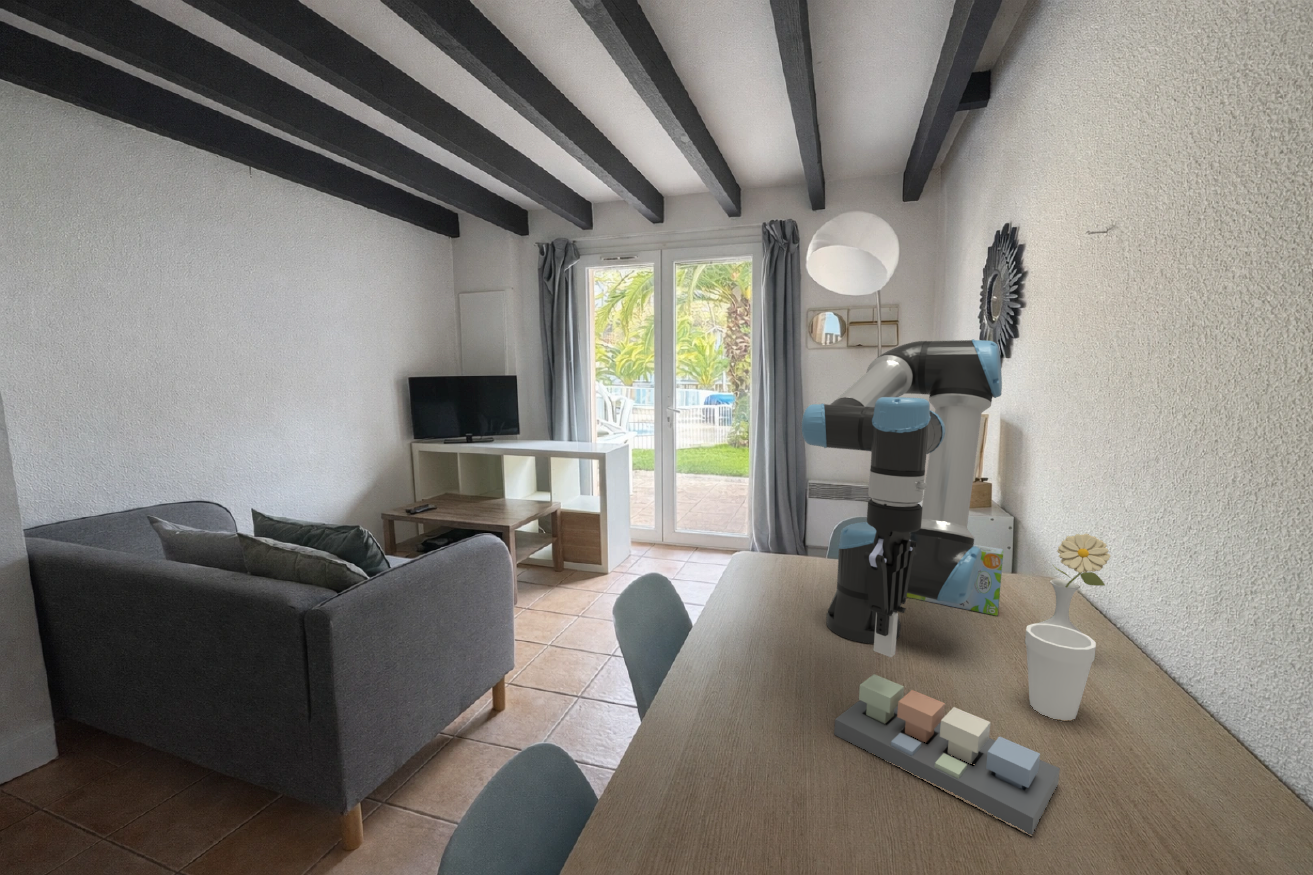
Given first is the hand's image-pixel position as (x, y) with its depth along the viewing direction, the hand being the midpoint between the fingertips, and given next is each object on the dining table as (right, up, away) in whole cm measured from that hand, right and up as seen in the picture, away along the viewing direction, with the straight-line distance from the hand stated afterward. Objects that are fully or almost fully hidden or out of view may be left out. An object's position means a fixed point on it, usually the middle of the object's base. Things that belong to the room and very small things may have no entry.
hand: (884, 652), depth 87 cm
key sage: (0, -10, +1) cm, 10 cm away
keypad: (+6, -13, -5) cm, 16 cm away
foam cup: (+31, -13, +8) cm, 35 cm away
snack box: (+37, -8, +53) cm, 65 cm away
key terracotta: (+4, -11, -3) cm, 12 cm away
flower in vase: (+48, -11, +29) cm, 57 cm away
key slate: (+12, -14, -11) cm, 21 cm away
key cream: (+8, -11, -7) cm, 16 cm away
